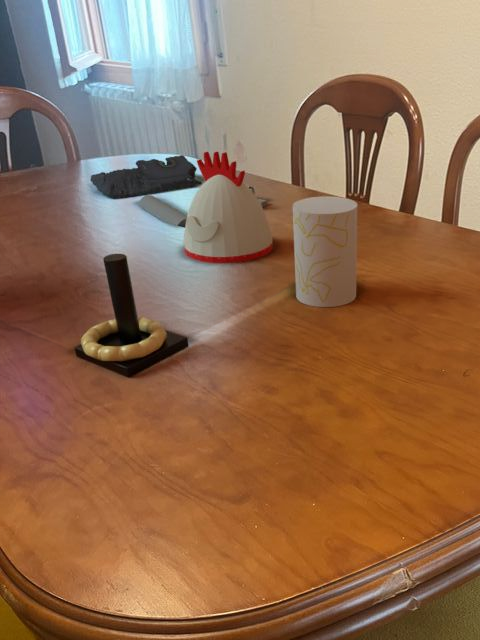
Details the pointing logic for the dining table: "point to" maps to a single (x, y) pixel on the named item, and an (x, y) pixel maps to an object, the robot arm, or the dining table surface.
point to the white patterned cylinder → (325, 250)
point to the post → (129, 324)
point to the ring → (122, 352)
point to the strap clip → (258, 199)
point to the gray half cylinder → (163, 211)
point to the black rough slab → (147, 178)
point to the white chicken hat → (225, 217)
